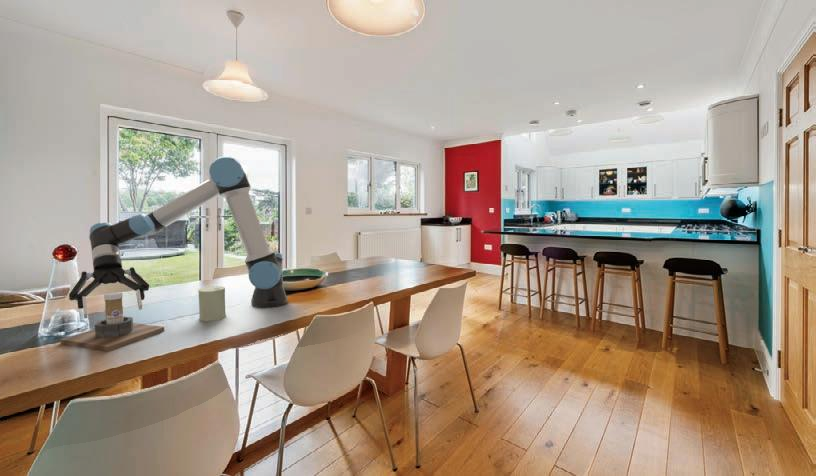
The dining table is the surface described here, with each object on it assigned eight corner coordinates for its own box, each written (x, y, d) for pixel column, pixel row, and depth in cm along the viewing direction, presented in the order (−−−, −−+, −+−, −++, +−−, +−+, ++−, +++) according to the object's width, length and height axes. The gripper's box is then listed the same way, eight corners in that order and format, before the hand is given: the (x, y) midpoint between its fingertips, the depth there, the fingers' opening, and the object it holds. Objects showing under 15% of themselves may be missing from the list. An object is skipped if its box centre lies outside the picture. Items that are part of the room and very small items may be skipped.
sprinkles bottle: (111, 335, 111) (109, 295, 110) (103, 333, 113) (100, 293, 111) (127, 331, 115) (125, 292, 114) (119, 329, 117) (117, 290, 116)
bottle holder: (164, 331, 120) (163, 315, 119) (107, 351, 103) (106, 333, 102) (121, 325, 125) (120, 310, 124) (60, 344, 108) (59, 326, 107)
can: (214, 322, 130) (213, 291, 129) (193, 320, 132) (192, 289, 131) (231, 314, 139) (230, 285, 138) (211, 313, 141) (210, 284, 140)
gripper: (150, 263, 131) (159, 310, 122) (57, 271, 114) (60, 326, 105) (151, 251, 127) (162, 298, 118) (55, 257, 110) (59, 313, 100)
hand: (114, 311), depth 111 cm, fingers open, 13 cm apart
